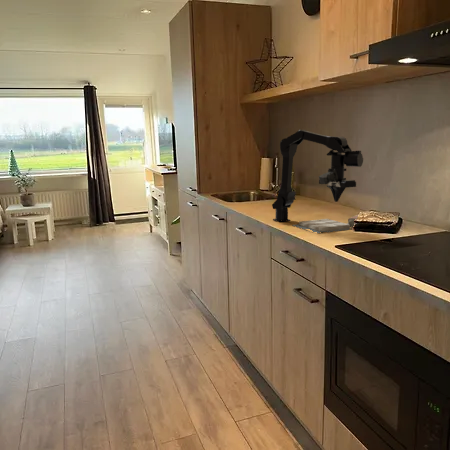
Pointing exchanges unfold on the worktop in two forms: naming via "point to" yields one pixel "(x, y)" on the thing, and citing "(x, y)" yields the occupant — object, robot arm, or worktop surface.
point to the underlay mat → (318, 231)
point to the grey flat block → (336, 223)
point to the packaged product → (352, 220)
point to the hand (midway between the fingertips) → (336, 201)
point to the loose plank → (319, 225)
